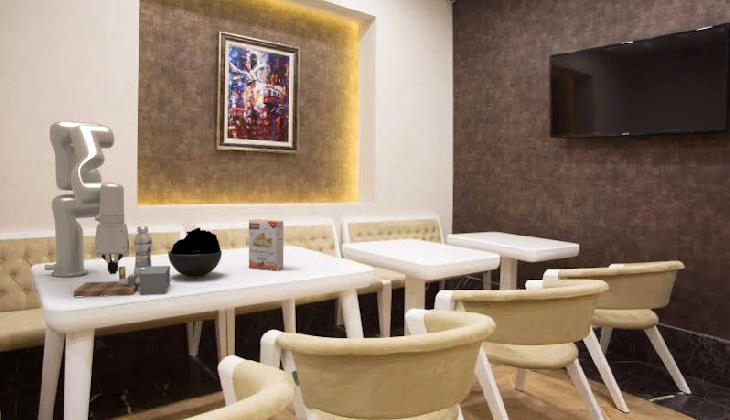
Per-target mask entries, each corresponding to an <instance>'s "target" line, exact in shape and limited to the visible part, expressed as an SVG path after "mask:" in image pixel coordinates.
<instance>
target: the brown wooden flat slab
mask: <svg viewBox="0 0 730 420" xmlns="http://www.w3.org/2000/svg"><path fill="white" fill-rule="evenodd" d="M135 277H137V274H134V273H131V274H129V275H128V276H127V278H128V284H119V280H118V281H117V280H116V281H114V280H113V281H87V282H86V281H85V282H84V283H83V284H81V285H80V286H79V287H77V288H76V289H75V290H74V291H73V297H74V296H93V297H105V296H104V295H119V296H133V295H135V294H136V292H137V291H138V290H140V283H135ZM101 295H102V296H101Z"/></svg>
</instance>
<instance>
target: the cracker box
mask: <svg viewBox="0 0 730 420" xmlns="http://www.w3.org/2000/svg"><path fill="white" fill-rule="evenodd" d="M248 268H249V269H255V268H259V270H265V269H272V270H271V271H274V270H277V269H280V270H282V269H281V268H283V269H284V220H273V219H257V218H256V219H250V220H248ZM277 271H278V270H277Z"/></svg>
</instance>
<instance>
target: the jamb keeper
mask: <svg viewBox="0 0 730 420" xmlns="http://www.w3.org/2000/svg"><path fill="white" fill-rule="evenodd" d="M170 286H171V266H170V265H157V266H156V265H154V266H153V265H151V266H149V267H145V268H144V270H143V271H142V272H141V273H140V287H139V295H164V294H166V293H167V291H168V289H169V288H170Z"/></svg>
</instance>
